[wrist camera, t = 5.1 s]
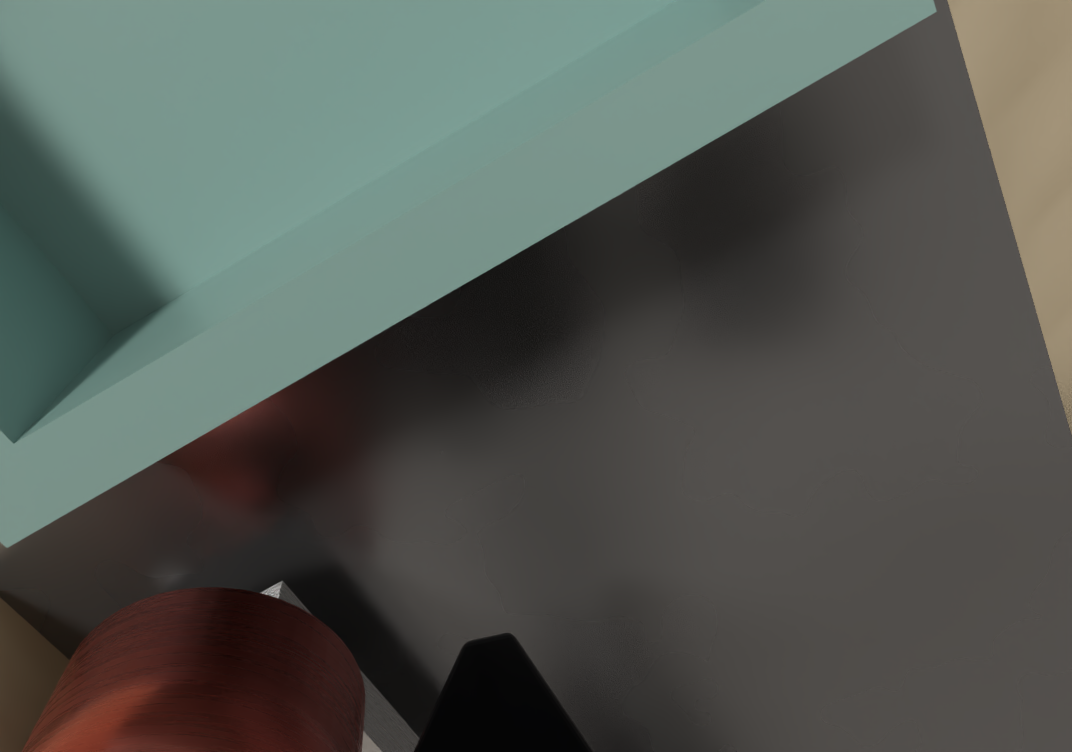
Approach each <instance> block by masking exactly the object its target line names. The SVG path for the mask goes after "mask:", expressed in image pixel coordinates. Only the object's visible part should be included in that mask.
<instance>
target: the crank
mask: <svg viewBox="0 0 1072 752" xmlns="http://www.w3.org/2000/svg"><path fill="white" fill-rule="evenodd" d="M419 739H420V738H419V737H418V735H417V734H416V733H415V732H414V731H413V730H412V729H411V727H410V726H409V725H408V724H407V723H406V722H405V721H404V719H403V718H402V717H401V716H400V715H399V714H398V713H397V711H396V710H395V709H394V708H393V707H392V706H391V704H390V703H389V702H388V701H387V700H386V699H385V698H384V696H383V695H382V694H381V693H380V692H379V691H378V690H377V688H376V687H375V686H374V685H373V684H372V683H371V682H370V680H369V679H368V678H367V677H366V676H365V675H364V673H363V672H362V671H361V670H360V669H359V666H358V664H357V662H356V661H355V659H354V657H353V655H352V653H351V652H350V650H349V649H348V648H347V646H346V645H345V644H344V642H343V641H342V640H341V639H340V638H339V637H338V636H337V635H336V634H335V633H334V632H333V631H332V630H331V629H330V628H329V627H328V626H327V625H325V624H324V623H323V622H322V621H320V620H319V619H318V618H316V617H315V616H313V615H312V614H311V613H310V611H309V610H308V609H307V608H306V607H305V606H304V605H303V603H302V602H301V601H300V600H299V599H298V598H297V597H296V595H295V594H294V593H293V592H292V591H291V590H290V589H289V587H288V586H287V585H286V584H285V583H284V582H283V580H282V581H281V582H279V583H277V584H275V585H273V586H271V587H269V588H268V589H266V590H264V591H262V592H260V593H258V592H253V591H248V590H243V589H233V588H223V587H199V588H189V589H180V590H175V591H170V592H165V593H161V594H157V595H154V596H151V597H148V598H145V599H142V600H139V601H137V602H135V603H133V604H131V605H128V606H126V607H124V608H122V609H120V610H119V611H117V612H116V613H114V614H112V615H111V616H109V617H108V618H106V619H105V620H103V621H102V622H101V623H100V624H99V625H98V626H96V627H95V628H94V629H93V630H92V631H91V632H90V633H89V634H88V635H87V636H86V637H85V639H84V640H83V641H82V642H81V643H80V645H79V646H78V648H77V649H76V651H75V652H74V654H73V656H72V657H71V659H70V661H69V663H68V665H67V667H66V669H65V670H64V672H63V674H62V676H61V678H60V680H59V682H58V684H57V686H56V687H55V689H54V691H53V693H52V695H51V697H50V699H49V701H48V703H47V704H46V706H45V708H44V710H43V712H42V714H41V716H40V718H39V720H38V721H37V723H36V725H35V727H34V729H33V731H32V733H31V735H30V737H29V738H28V740H27V742H26V744H25V746H24V748H23V750H22V752H414V750H415V747H416V745H417V743H418V741H419Z"/></svg>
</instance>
